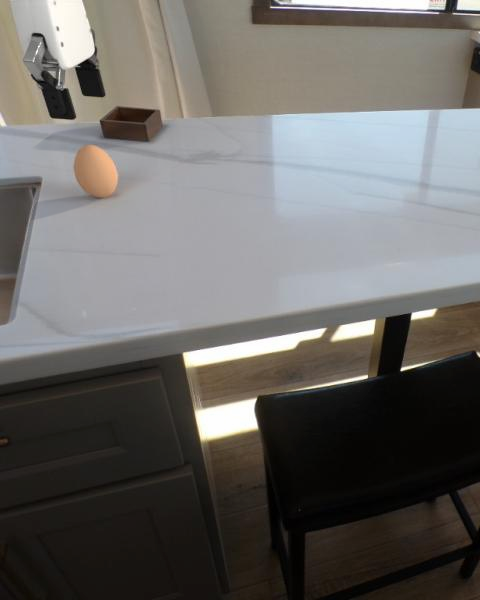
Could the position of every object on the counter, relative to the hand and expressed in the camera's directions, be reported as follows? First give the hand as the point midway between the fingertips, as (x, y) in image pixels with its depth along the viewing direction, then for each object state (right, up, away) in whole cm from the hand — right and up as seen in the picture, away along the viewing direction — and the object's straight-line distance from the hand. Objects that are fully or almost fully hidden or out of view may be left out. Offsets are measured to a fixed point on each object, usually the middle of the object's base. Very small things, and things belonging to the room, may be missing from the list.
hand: (79, 106), depth 74 cm
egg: (-2, -11, +9) cm, 14 cm away
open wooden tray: (-7, +6, +29) cm, 31 cm away
